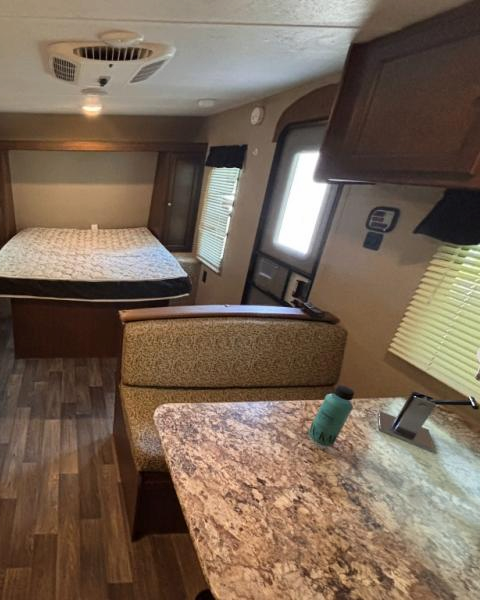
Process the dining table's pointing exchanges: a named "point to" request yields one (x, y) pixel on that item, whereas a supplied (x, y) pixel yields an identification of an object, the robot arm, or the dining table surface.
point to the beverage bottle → (332, 416)
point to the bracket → (410, 421)
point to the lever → (454, 402)
